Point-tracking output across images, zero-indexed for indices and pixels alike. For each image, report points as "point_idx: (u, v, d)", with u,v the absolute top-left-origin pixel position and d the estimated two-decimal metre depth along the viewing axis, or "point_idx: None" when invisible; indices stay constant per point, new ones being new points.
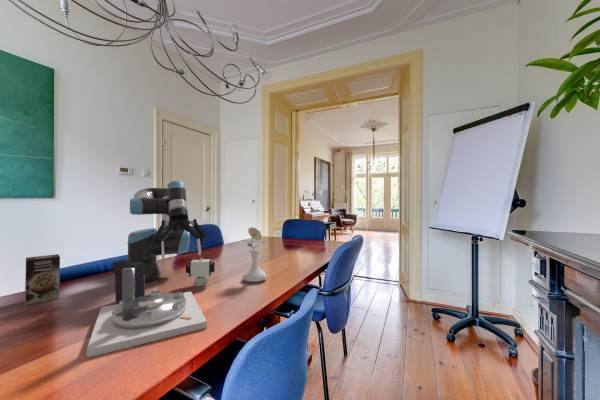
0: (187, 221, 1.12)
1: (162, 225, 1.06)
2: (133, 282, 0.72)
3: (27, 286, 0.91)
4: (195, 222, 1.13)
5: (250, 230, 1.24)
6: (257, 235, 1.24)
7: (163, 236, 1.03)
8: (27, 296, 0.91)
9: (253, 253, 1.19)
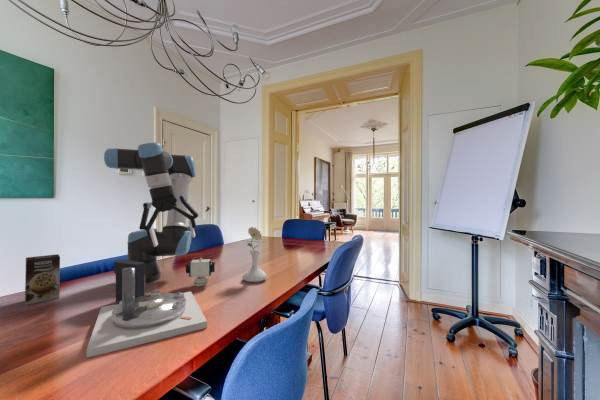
0: (173, 200, 0.94)
1: (145, 210, 0.92)
2: (133, 282, 0.72)
3: (27, 286, 0.91)
4: (182, 200, 0.95)
5: (250, 230, 1.24)
6: (257, 235, 1.24)
7: (149, 223, 0.93)
8: (27, 296, 0.91)
9: (253, 253, 1.19)
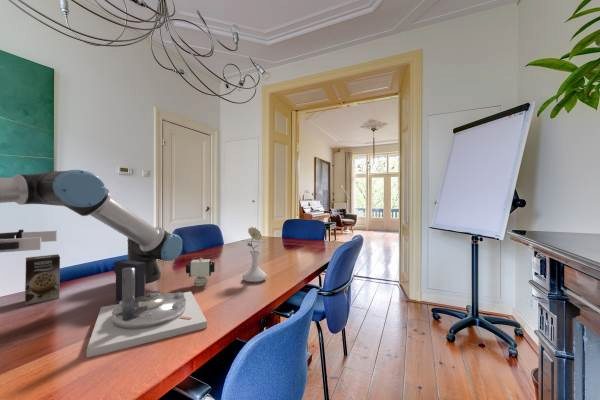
0: None
1: None
2: (133, 282, 0.72)
3: (27, 286, 0.91)
4: None
5: (250, 230, 1.24)
6: (257, 235, 1.24)
7: None
8: (27, 296, 0.91)
9: (253, 253, 1.19)
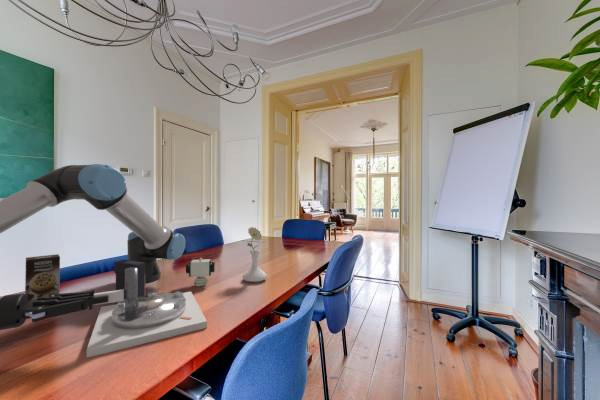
0: None
1: None
2: (136, 282, 0.72)
3: (27, 286, 0.91)
4: None
5: (250, 230, 1.24)
6: (257, 235, 1.24)
7: None
8: None
9: (253, 253, 1.19)
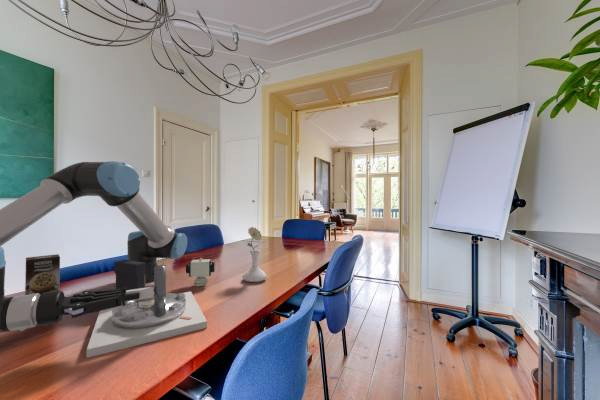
0: None
1: None
2: None
3: (27, 286, 0.91)
4: None
5: (250, 230, 1.24)
6: (257, 235, 1.24)
7: None
8: None
9: (253, 253, 1.19)
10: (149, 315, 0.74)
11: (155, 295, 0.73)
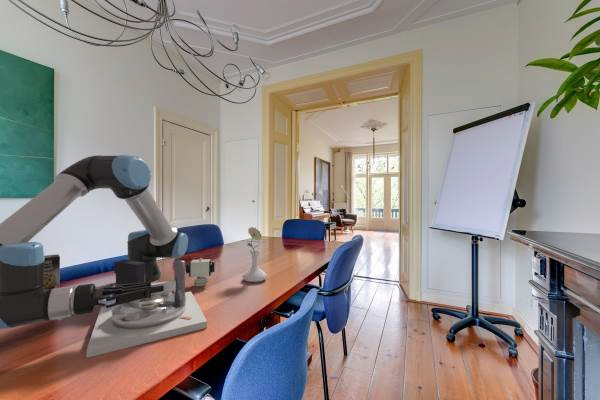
0: None
1: None
2: None
3: None
4: None
5: (250, 230, 1.24)
6: (257, 235, 1.24)
7: None
8: None
9: (253, 253, 1.19)
10: None
11: (179, 287, 0.80)
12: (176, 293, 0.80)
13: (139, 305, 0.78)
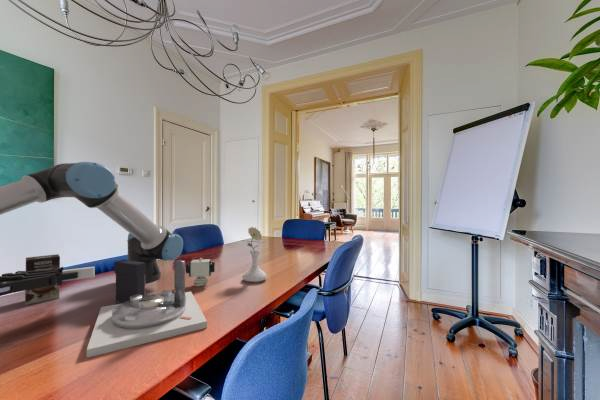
0: None
1: None
2: None
3: None
4: None
5: (250, 230, 1.24)
6: (257, 235, 1.24)
7: None
8: (27, 296, 0.91)
9: (253, 253, 1.19)
10: None
11: (179, 287, 0.80)
12: (176, 293, 0.80)
13: (139, 305, 0.78)
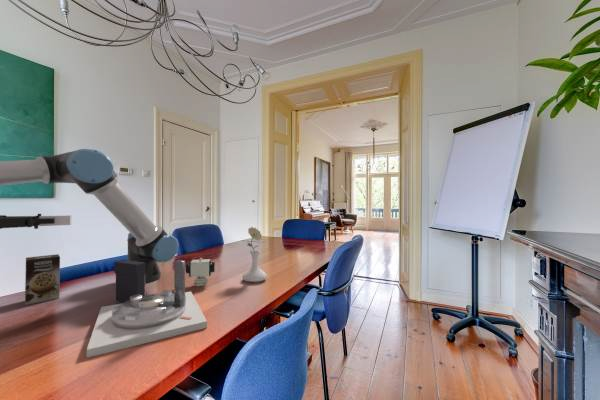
0: None
1: None
2: None
3: (27, 286, 0.91)
4: None
5: (250, 230, 1.24)
6: (257, 235, 1.24)
7: None
8: (27, 296, 0.91)
9: (253, 253, 1.19)
10: None
11: (179, 287, 0.80)
12: (176, 293, 0.80)
13: (139, 305, 0.78)
